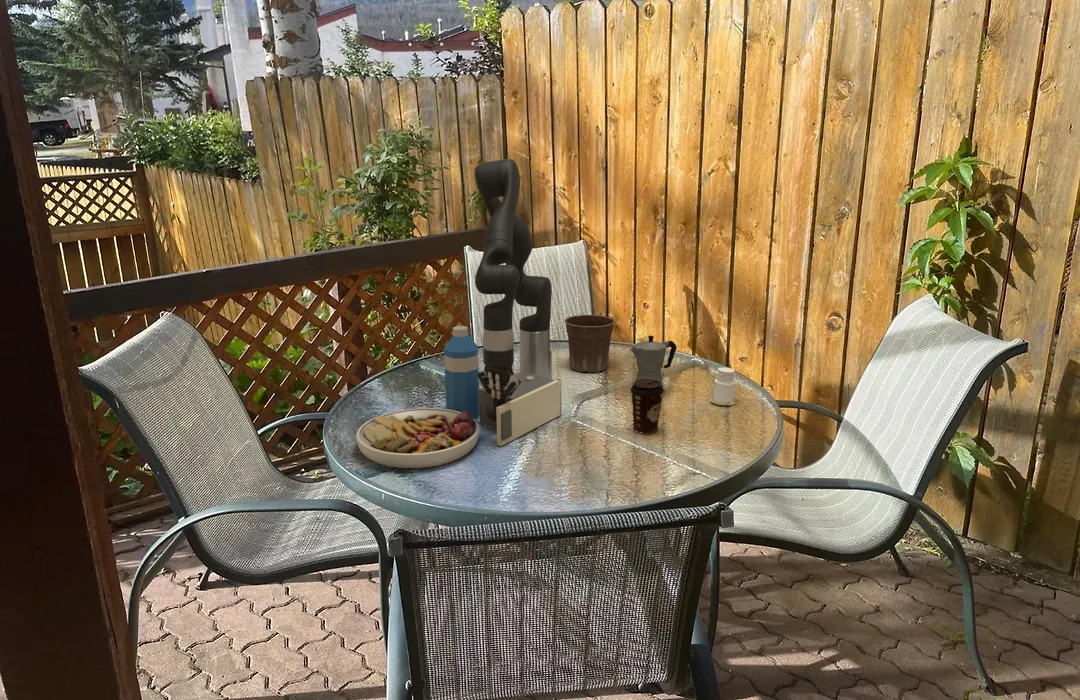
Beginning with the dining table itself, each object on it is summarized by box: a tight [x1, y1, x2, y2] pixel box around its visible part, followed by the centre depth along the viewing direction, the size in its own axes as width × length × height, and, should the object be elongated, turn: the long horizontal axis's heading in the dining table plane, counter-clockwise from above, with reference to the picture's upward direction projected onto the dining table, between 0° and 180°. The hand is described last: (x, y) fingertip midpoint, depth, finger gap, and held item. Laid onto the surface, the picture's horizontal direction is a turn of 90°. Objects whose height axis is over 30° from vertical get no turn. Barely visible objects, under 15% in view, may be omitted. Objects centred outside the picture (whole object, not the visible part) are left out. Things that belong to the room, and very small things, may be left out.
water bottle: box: [443, 325, 480, 420], centre depth 207 cm, size 9×9×25 cm
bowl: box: [356, 407, 480, 469], centre depth 190 cm, size 30×30×8 cm
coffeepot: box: [629, 335, 677, 395], centre depth 224 cm, size 15×9×18 cm, turn 113°
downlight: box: [711, 367, 737, 402], centre depth 218 cm, size 8×7×10 cm
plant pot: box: [564, 314, 616, 374], centre depth 249 cm, size 16×16×16 cm
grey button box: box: [479, 372, 556, 430], centre depth 206 cm, size 19×12×11 cm, turn 141°
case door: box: [496, 378, 563, 447], centre depth 199 cm, size 27×2×10 cm, turn 144°
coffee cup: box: [630, 379, 665, 434], centre depth 199 cm, size 9×8×13 cm
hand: (499, 411), depth 193 cm, fingers closed
